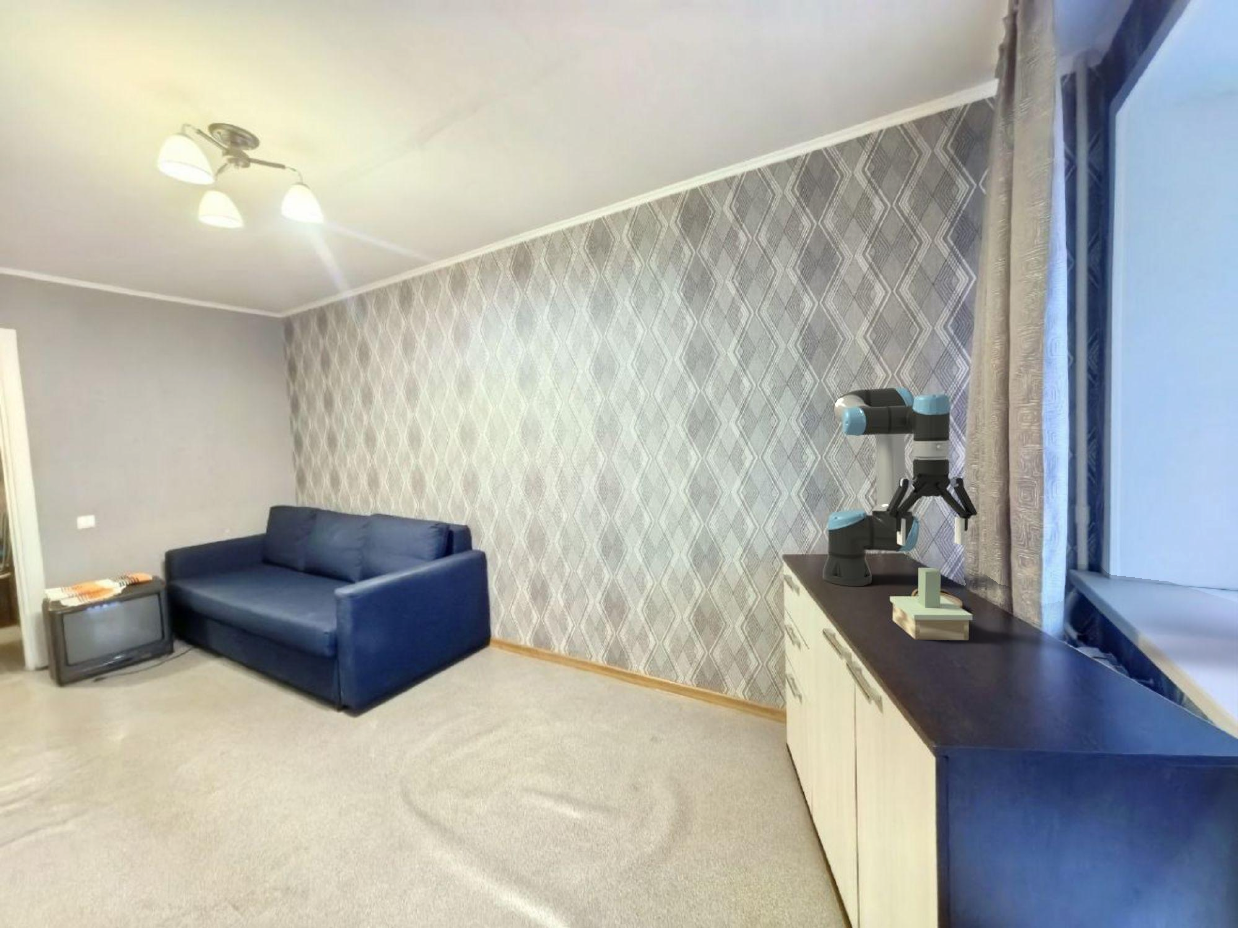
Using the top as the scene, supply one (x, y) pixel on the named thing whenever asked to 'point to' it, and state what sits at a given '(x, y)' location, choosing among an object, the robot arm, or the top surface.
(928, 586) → the lid
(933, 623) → the box
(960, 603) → the alarm clock
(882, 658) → the top surface
